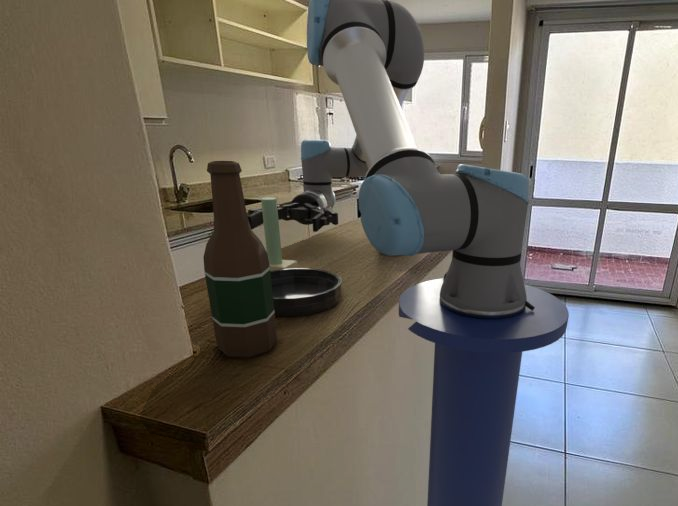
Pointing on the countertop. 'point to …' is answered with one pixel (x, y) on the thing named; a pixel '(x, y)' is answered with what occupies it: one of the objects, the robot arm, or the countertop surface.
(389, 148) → the robot arm
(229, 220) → the beer bottle
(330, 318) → the countertop surface
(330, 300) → the black shallow round dish
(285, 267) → the green peg on base
